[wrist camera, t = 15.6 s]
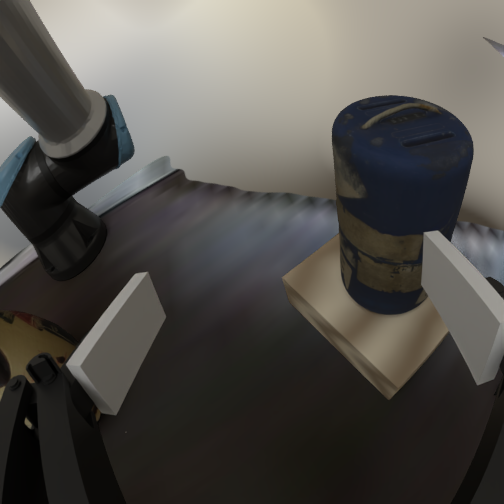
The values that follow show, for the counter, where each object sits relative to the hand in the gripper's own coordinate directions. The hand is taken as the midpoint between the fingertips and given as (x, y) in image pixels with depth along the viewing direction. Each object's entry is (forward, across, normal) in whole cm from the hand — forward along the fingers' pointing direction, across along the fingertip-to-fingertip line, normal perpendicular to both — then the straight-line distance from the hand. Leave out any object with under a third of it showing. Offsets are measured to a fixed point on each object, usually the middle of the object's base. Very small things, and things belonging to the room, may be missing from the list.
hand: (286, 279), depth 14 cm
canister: (+14, +9, -10) cm, 19 cm away
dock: (+15, +8, -14) cm, 22 cm away
